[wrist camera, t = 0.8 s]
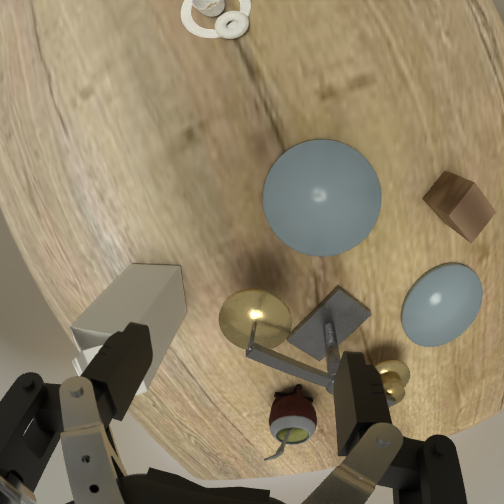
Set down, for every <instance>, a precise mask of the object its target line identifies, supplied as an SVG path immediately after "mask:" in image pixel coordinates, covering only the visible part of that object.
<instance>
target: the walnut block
mask: <svg viewBox="0 0 504 504" xmlns="http://www.w3.org/2000/svg"><path fill="white" fill-rule="evenodd" d="M423 200H424V201H425V202H426V203H427V204H428V205H429V206H430V207H431V209H432V210H433V211H434V212H435V213H436V214H437V215H438V216H439V217H440V218H441V220H442V221H443V222H444V223H445V224H447V225H448V226H449V227H451V228H452V229H453V230H455V231H456V232H457V233H459V234H460V235H461V236H462V237H464V238H465V239H466V240H468V241H469V242H470V243H472V242H473V241H474V240H475V238H476V237H477V236H478V235H479V233H480V232H481V231H482V230H483V228H484V227H485V226H486V224H487V223H488V222H489V221H490V219H491V218H492V217H493V215H494V214H495V213H496V211H495V210H494V209H493V207H492V206H491V204H490V203H489V201H488V200H487V199H486V197H485V196H484V194H483V193H482V192H481V190H480V189H479V188H478V186H477V185H476V184H475V183H474V182H472V181H470V180H467V179H464V178H462V177H459V176H457V175H454V174H451V173H449V172H446V171H444V172H443V173H442V175H441V176H440V177H439V179H438V180H437V181H436V182H435V184H434V185H433V186H432V187H431V189H430V190H429V191H428V192H427V194H426V195H425V196H424V197H423Z"/></svg>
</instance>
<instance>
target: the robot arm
mask: <svg viewBox="0 0 504 504" xmlns="http://www.w3.org/2000/svg"><path fill="white" fill-rule="evenodd" d="M152 359H153V350H152V344H151V338H150V331H149V327H148V326H147V325H144V324H139V323H134V322H130V323H129V324H128V325H127V326H126V328H125V329H124V330H123V332H120V331H117V332H116V333H114V334H113V335H111V336H110V337H108V339H107V340H106V341H105V343H104V344H103V347H101V348H100V349H99V351H98V353H97V354H96V355H95V356H94V358H93V359H92V360H91V362H90V363H89V364H88V366H87V367H86V369H85V370H84V371H83V373H82V374H81V376H75V377H71V378H68V379H66V380H65V381H64V382H63V383H62V384H49V383H44V382H43V380H42V378H41V376H40V375H39V374H37V373H33V372H29V373H25V374H22V375H21V376H19V377H18V378H17V380H16V381H15V382H14V383H13V385H12V386H11V387H10V389H9V391H8V392H7V393H6V394H5V396H4V397H3V399H2V400H1V401H0V504H36V498H35V495H34V494H33V493H34V490H35V488H36V486H37V484H38V482H39V480H40V478H41V476H42V473H43V471H44V469H45V467H46V465H47V463H48V461H49V459H50V457H51V455H52V453H53V451H54V449H55V447H56V445H57V443H58V442H59V440H60V438H61V443H62V449H63V455H64V460H65V465H66V470H67V474H68V478H69V483H70V487H71V491H72V495H73V498H74V500H73V501H71V502H68V503H66V504H285V503H283V502H281V501H280V500H277V499H275V498H272V497H269V495H270V490H263V489H254V488H246V487H226V488H205V487H203V486H200V485H198V484H196V483H194V482H191V481H189V480H187V479H185V478H183V477H181V476H179V475H176V474H172V473H168V472H164V471H161V470H157V469H154V468H149V470H148V473H147V474H133V475H127V473H126V471H125V469H124V466H123V464H122V462H121V459H120V456H119V453H118V450H117V447H116V444H115V441H114V437H113V434H112V431H111V427H110V425H109V424H110V422H111V420H112V418H113V419H116V420H119V421H122V420H123V418H124V416H125V414H126V412H127V410H128V408H129V406H130V404H131V402H132V400H133V398H134V396H135V394H136V392H137V391H138V389H139V387H140V385H141V383H142V381H143V379H144V377H145V375H146V374H147V372H148V370H149V368H150V366H151V363H152ZM333 392H334V404H335V416H336V430H337V446H338V456H347V457H346V458H345V459H344V460H343V462H342V463H341V464H340V465H339V466H337V467H336V468H335V469H334V470H333V471H332V472H331V473H330V474H329V476H328V477H327V478H326V479H325V480H324V481H323V482H322V483H321V484H320V485H319V486H318V487H317V488H316V489H315V490H314V491H313V493H312V494H311V495H310V496H309V497H308V498H307V499H306V500H305V501H304V502H303V503H302V504H364V503H365V502H366V501H367V499H368V498H369V497H370V495H371V494H372V492H373V491H374V489H375V486H376V485H380V486H385V487H390V488H393V501H394V504H467V499H466V494H465V488H464V483H463V478H462V473H461V468H460V464H459V459H458V455H457V451H456V447H455V445H454V443H453V442H452V440H450V439H449V438H448V437H446V436H444V435H433V436H430V437H429V438H428V439H427V440H426V441H425V442H424V441H419V440H414V439H410V438H406V437H404V436H403V435H402V433H401V431H400V430H399V429H398V428H397V427H396V426H394V425H393V424H392V421H391V416H390V412H389V408H388V403H387V399H386V395H385V391H384V387H383V383H382V379H381V375H380V373H379V372H378V371H377V369H376V368H375V367H374V365H366V363H365V359H364V355H363V353H362V352H349V351H344V352H343V355H342V358H341V361H340V364H339V367H338V370H337V373H336V376H335V380H334V387H333ZM32 419H33V421H32V422H31V420H32ZM30 422H31V424H30ZM29 424H30V426H29V427H28V425H29ZM27 427H28V429H27ZM26 429H27V431H26V432H25V430H26ZM24 432H25V434H24ZM23 435H24V436H23Z"/></svg>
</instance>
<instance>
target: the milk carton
mask: <svg viewBox="0 0 504 504" xmlns="http://www.w3.org/2000/svg"><path fill="white" fill-rule="evenodd" d="M186 313H187V309H186V302H185V295H184V288H183V281H182V274H181V267H180V266H173V265H147V264H131V265H130V266H129V267H128V268H127V269H126V270H125V271H124V272H123V273H122V274H121V275H120V276H119V277H118V278H116V279H115V280H114V281H113V282H112V283H111V284H110V285H109V286H108V287H107V288H106V289H105V290H104V291H103V293H102V294H101V295H100V296H99V297H98V298H97V299H96V300H95V301H94V302H93V303H92V304H91V305H90V306H89V307H88V308H87V309H86V310H85V311H84V312H83V313H82V314H81V315H80V316H79V317H78V318H77V319H76V321H75V322H74V323H73V324H72V325H71V326H70V329H71V332H72V334H73V337H74V340H75V342H76V345H77V347H78V350H79V354H78V355H77V356H76V358H75V359H74V360H72V363H73V365H74V367H75V369H76V371H77V374H78V376H81V374H82V373H83V371H84V370H85V369H86V367H87V366H88V364H89V363H90V362H91V360H92V359H93V358H94V356H95V355H96V354H97V353H98V351H99V349H100V348H101V347H103V344H104V343H105V341H106V340H107V339H108V337H110V336H111V335H113V334H114V333H116V332H117V331H120V332H123V330H124V329H125V328H126V326H127V325H128V324H129V323H130V322H134V323H139V324H144V325H147V326H148V327H149V331H150V338H151V344H152V350H153V359H152V363H151V366H150V368H149V370H148V372H147V374H146V375H145V377H144V379H143V381H142V383H141V385H140V387H139V389H138V391H137V392H136V394H135V395H138V394H141V393H144V392H147V390H148V388H149V386H150V384H151V382H152V380H153V378H154V376H155V374H156V372H157V370H158V368H159V366H160V364H161V362H162V360H163V358H164V356H165V354H166V352H167V350H168V348H169V346H170V344H171V342H172V340H173V338H174V336H175V334H176V332H177V330H178V329H179V327H180V325H181V323H182V321H183V319H184V317H185V315H186Z"/></svg>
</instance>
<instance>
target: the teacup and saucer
mask: <svg viewBox="0 0 504 504" xmlns="http://www.w3.org/2000/svg"><path fill="white" fill-rule="evenodd" d="M239 1H240V12H239V11H228V12H226V13H224V14H222V15H221V16H219V17H218V19H217V20H216V23H215V29H205V28H202V27H200V26H198V25H197V24H196V23H195V22H194V21H193V19H192V17H191V7H192V5H193V6H194V7H195V8H196V9H198V10H199V11H200V12H201V13H203V14H204V15H206V16H210V17H214V16H218V15H219V14H221V13H222V12H223V10H224V7H225V3H224V0H184V2H183V4H182V8H181V20H182V22H183V24H184V26H185V27H186V29H187V30H188V31H190V32H191V33H192V34H194V35H196V36H199V37H203V38H218V37H223V38H226V39H234V38H238V37H240V36H242V35H243V34H244V33H245V32H246V31H247V29H248V26H249V20H248V16H249V14H250V10H251V1H250V0H239ZM211 3H217V4H216V5H215V6H213V7H211V8H208V9H207V7H208V5H209V4H211ZM233 20H234V21H233ZM229 21H233V22H232V23H230V24H229V25H227V26H226V24H227V23H228V22H229Z"/></svg>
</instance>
